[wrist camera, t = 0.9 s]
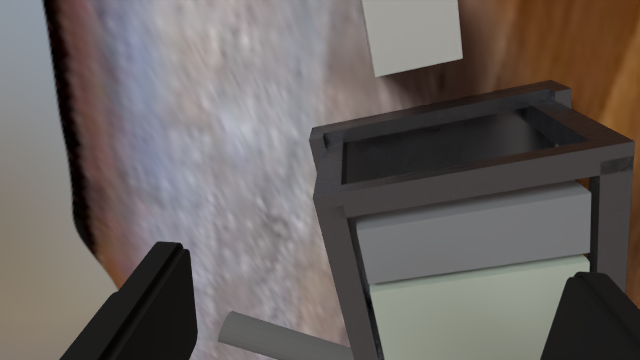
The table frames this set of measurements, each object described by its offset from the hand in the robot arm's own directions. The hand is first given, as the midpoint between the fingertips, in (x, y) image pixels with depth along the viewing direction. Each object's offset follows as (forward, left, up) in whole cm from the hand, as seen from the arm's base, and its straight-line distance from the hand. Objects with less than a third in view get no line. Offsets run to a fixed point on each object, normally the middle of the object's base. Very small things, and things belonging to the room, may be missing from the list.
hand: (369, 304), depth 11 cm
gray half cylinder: (+8, +24, -23) cm, 35 cm away
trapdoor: (-5, +11, -14) cm, 19 cm away
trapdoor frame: (-5, +11, -23) cm, 26 cm away
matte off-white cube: (-4, -5, -23) cm, 24 cm away
